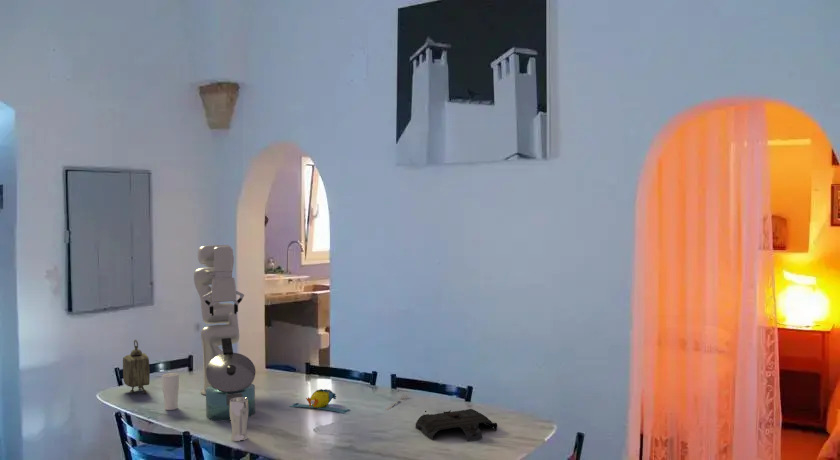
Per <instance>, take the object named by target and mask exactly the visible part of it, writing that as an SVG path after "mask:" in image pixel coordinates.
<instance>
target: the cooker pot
mask: <svg viewBox="0 0 840 460" xmlns="http://www.w3.org/2000/svg"><path fill="white" fill-rule="evenodd" d="M237 397H245V398H248V409H249V411H248V418H250V417H252V416H253V415H255V414H256V386H255V384H254V383H252V384H251V385H250V386H249V387H248V388H246V389H244V390H242V391H240V392H235V393H225V392H221V391H218V390H216V389H215V388H213V387H212V386H209V387H208V388H206V395H205V412H206V413H205V416H206V418H207V419H208V418H209V420H211V419H212V421H216V420H230V414H229V406H230V399H232V398H237ZM251 415H252V416H251ZM249 416H250V417H249Z"/></svg>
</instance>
